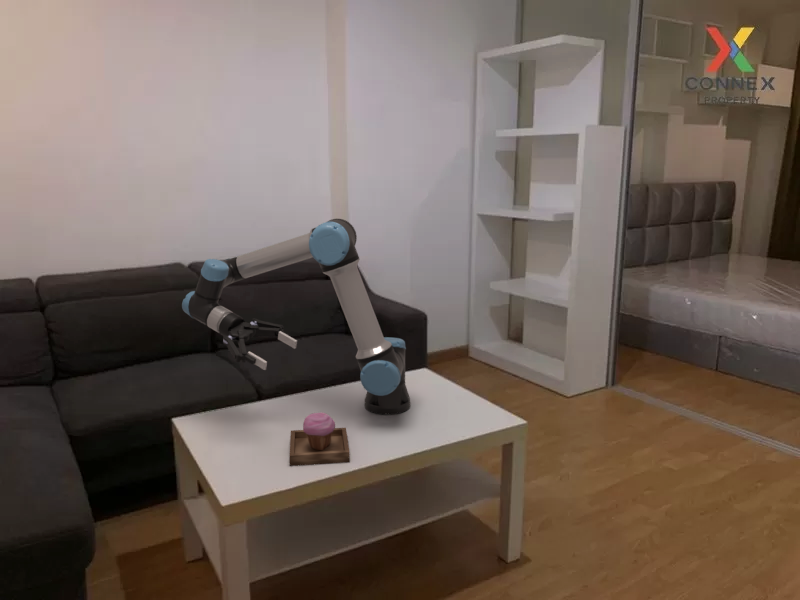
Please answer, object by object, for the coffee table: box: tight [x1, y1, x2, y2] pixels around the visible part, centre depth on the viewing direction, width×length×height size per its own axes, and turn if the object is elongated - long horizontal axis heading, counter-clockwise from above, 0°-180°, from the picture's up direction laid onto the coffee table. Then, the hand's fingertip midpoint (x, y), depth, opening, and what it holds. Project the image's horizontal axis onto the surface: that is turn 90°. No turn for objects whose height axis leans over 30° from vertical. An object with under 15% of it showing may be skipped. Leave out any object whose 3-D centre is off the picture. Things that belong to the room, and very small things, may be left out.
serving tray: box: [288, 427, 351, 467], centre depth 180 cm, size 16×16×3 cm
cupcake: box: [302, 411, 336, 450], centre depth 180 cm, size 9×9×10 cm
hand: (281, 355), depth 187 cm, fingers open, 13 cm apart
